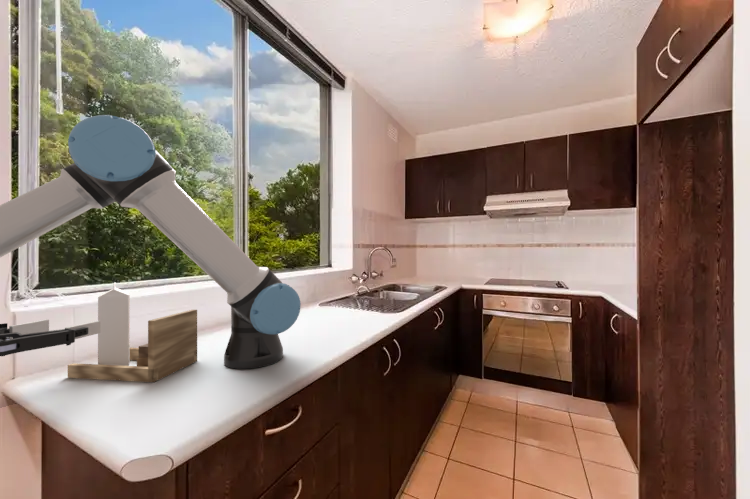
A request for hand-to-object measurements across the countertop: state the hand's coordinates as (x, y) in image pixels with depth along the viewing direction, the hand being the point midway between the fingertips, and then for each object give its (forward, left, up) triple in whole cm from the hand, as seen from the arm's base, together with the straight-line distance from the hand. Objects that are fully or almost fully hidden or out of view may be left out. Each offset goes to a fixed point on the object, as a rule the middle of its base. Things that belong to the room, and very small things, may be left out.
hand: (73, 326), depth 70 cm
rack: (-6, -10, -13) cm, 17 cm away
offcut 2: (-13, -9, -11) cm, 19 cm away
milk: (0, -10, -13) cm, 16 cm away
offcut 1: (-13, -10, -9) cm, 18 cm away
